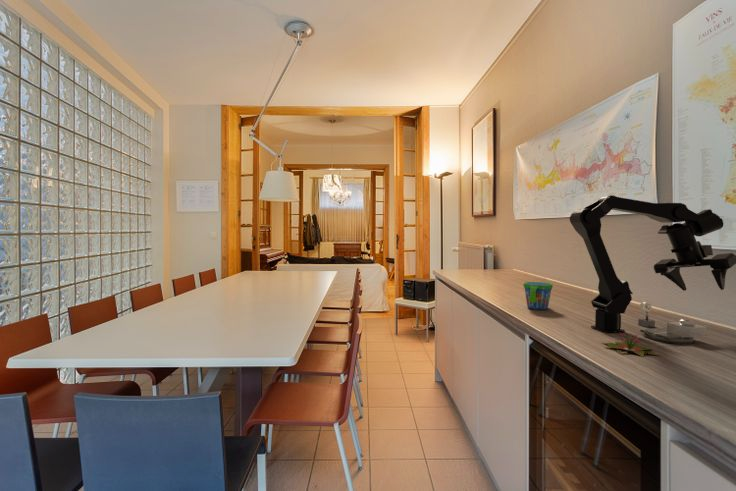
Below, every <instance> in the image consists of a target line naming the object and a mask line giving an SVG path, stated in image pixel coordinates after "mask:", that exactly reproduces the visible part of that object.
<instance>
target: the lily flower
mask: <svg viewBox="0 0 736 491" xmlns="http://www.w3.org/2000/svg"><path fill="white" fill-rule="evenodd" d="M624 334H625V335H624ZM624 334H623V333H622V332H619V335H620V336H622V337H620V339H621V341H620V342H619V341H615V342H603V344H604V345H607V346H606V347H605V349H616V351H617V352H618V353H619V354H620V355H623V354H628V353H627V352H623V350H625V349H627V351H629V352H630V353H629V354H634V353H635V354H637V355H638V356H640V357H643V358H644V356H645V355H654V356H660V354H657V353H655V352H654V351H653V348H649V347H646V346H644V345H641V344H639V342H641V341H640V339H639V338H638V339H636V340H634V339H635V338H637V337H638V335H637V334H634V335H632V333H631V334H630V339H629V338H628V335H627V333H626V332H624ZM620 349H621V350H622V351H620ZM634 350H635V351H634ZM622 352H623V353H622ZM647 353H648V354H647ZM644 354H645V355H644Z"/></svg>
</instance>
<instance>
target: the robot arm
mask: <svg viewBox="0 0 736 491" xmlns="http://www.w3.org/2000/svg"><path fill="white" fill-rule="evenodd" d="M612 210H613V211H616V212H617V211H618V212H623V213H628V214H635V215H641V216H645V217H647V218H650V219H651V220H654V221H656V222H659V223H665V225H664V224H663V225H661V228H660V229H659V230H658V232H657V234H658V235H659V234H660V235H667V237H668V240H669V242H670V245H671V247H672V248H671V249H670V251H671V253H672V254H675V256H676V259H675V258H667V259H666V258H665V259H661V260H659V261H658V262H656V263H655V264H654V265H653V271H654V273H655V274H660V276H664V277H665V278H667V279H668V280H670V281H671V282H673V283H674V284H675V285H676V287H679V288H680V289H681V290H682V291H683V292H684V291H686V290H687V286H686V283H685V280H684V279H683V277H682V275H681V270H680V269H682V268H691V267H705V266H709V267H710V268H711V274H712V276H713V277H714V280H715V282H716V284H717V286H718V288H719V289H720V290H721V291H723V290H725V286H726V285H725V284H726V276H727V271H728V270H729V269H732V267H734V266H735V265H736V255H735V253H732V252H730V253H729V252H728V253H719V254H716V255H714V253H713V247H712V244H702V243H701V242H700V240H697V238H696V237H699V238H700V237H703V236H705V235H708V234H711V233H713V232H715V231H719V230H721V229H722V228H723V227H724V220H723V219H722V218H721V217H720V216H719V215H718V214H717V213H715V212H713V210H712V209H711V208H709V209H703V210H701V211H699V212H698V213H697V212H694V211H693V210H690V209H689V208H688V207H687V205H686V204H685V203H682V202H658V203H657V202H656V203H655V202H650V201H649V202H648V201H643V200H636V199H632V198H625V197H619V196H617V195H612V194H611V195H606V196H602V197H601V198H599V199H598V200H596V201H594V202H593V203H590V204H588V205H586V206H585V207H583V208H580V209H576V210H574V211H573V212H572V213H571V214H570V216H569V222H570V224H571V225H572V227H573V229H574V230H575V232H576V233H577V234H578V235H579V236H580V237H581V238H582V240H583V242H584V244H585V248H586V250H587V252H588V254H589V257H590V260H591V262H592V265H593V267H594V271H595V272H596V274H597V277H598V286H597V290H598V295H596V296H595V297H594V298H593V299H592V300H591V302H590V303H591V305H592V308H594V309H595V314H594V315H595V324H594V325H591V326H590V328H592V329H595V330H598V331H601V332H604V333H608V334H610V333H622V332H623V333H626V330H625V329H623V328H622V315H621V314H625V313H626V310H627V308H628V307H629V305H630V303H631V301H632V300H633V299H632V298H633V297H632V295H633V292H632V291H631V289H630V283H629V282H628V281H627V280H624V279H620V278H619V277H618V275H617V273H616V271H615V268H614V265H613V264H612V261H611V259H610V255H609V252H608V251H607V248H606V246H605V243H604V240H603V238H602V235H601V229H602V220H601V219H603V217H605V216H607V215H608V214H609V213H610V212H611V211H612ZM682 222H683V223H682ZM666 223H667V224H666ZM668 223H673V224H670V225H669V224H668ZM695 236H696V237H695ZM709 256H713V257H712V258H708V257H709Z"/></svg>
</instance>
